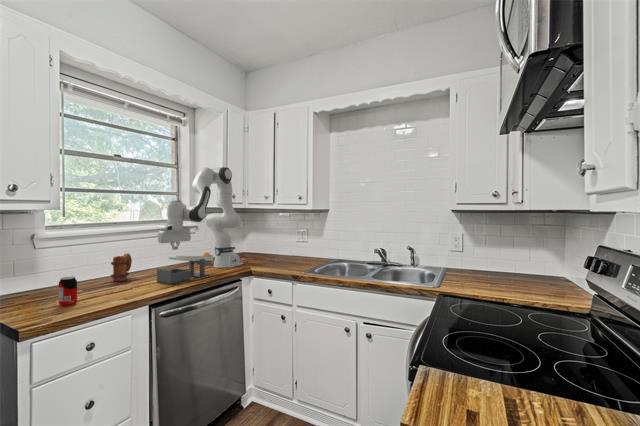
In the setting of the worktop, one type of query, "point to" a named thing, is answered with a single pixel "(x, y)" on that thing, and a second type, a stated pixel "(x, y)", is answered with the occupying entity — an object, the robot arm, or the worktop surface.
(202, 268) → the stand
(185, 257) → the lever
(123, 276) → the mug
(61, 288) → the beverage can
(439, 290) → the worktop surface
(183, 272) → the grey open box
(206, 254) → the ball
